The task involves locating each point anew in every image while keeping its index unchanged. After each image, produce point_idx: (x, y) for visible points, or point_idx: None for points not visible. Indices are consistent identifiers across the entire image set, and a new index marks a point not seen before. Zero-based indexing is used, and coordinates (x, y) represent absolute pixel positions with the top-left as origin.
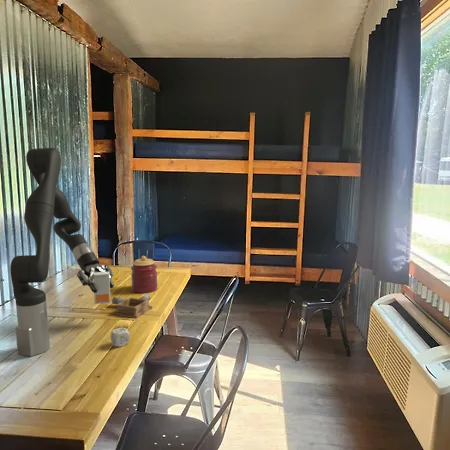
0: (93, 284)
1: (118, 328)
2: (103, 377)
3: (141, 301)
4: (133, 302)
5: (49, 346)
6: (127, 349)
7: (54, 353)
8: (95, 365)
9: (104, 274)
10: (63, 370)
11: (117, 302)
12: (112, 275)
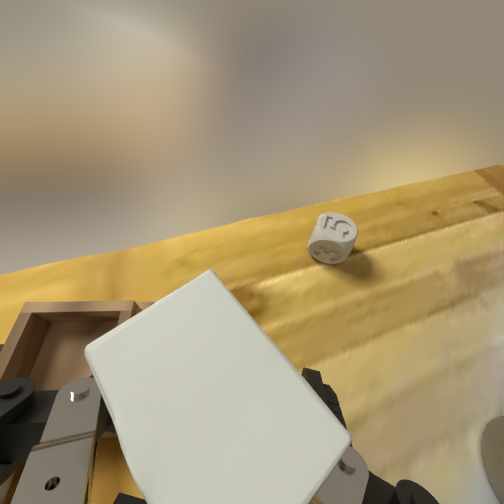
0: None
1: (330, 236)
2: (430, 205)
3: (26, 336)
4: None
5: (490, 427)
6: None
7: (479, 374)
8: (420, 238)
9: (243, 307)
10: (483, 281)
11: (1, 499)
12: (32, 381)
